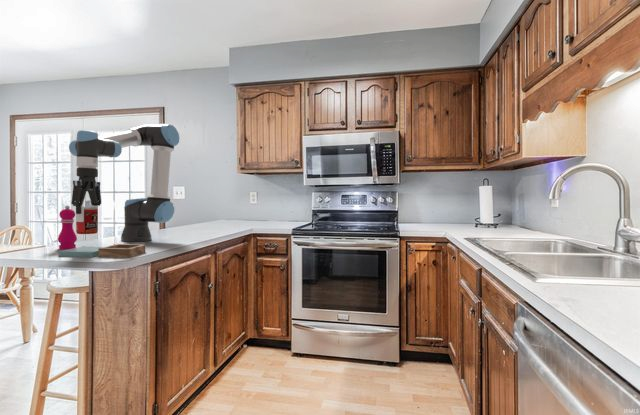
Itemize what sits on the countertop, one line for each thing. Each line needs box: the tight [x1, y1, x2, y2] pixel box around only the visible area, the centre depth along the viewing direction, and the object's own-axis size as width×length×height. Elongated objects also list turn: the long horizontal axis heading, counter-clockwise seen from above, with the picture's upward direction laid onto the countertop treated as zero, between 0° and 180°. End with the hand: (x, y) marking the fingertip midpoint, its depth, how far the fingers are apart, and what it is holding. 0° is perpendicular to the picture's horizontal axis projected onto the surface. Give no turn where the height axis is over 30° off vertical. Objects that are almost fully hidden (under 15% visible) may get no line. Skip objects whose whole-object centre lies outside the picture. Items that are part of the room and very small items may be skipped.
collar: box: [98, 243, 146, 258], centre depth 151 cm, size 13×13×4 cm
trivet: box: [58, 245, 103, 258], centre depth 151 cm, size 14×14×2 cm
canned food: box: [75, 206, 99, 235], centre depth 150 cm, size 8×8×11 cm
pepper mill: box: [57, 205, 78, 250], centre depth 163 cm, size 7×7×20 cm
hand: (87, 221), depth 150 cm, fingers closed on canned food, 8 cm apart
